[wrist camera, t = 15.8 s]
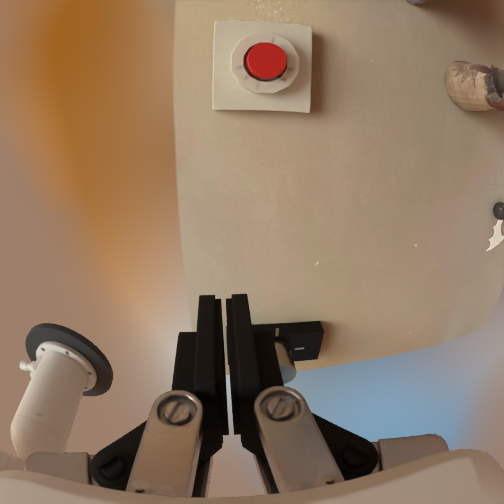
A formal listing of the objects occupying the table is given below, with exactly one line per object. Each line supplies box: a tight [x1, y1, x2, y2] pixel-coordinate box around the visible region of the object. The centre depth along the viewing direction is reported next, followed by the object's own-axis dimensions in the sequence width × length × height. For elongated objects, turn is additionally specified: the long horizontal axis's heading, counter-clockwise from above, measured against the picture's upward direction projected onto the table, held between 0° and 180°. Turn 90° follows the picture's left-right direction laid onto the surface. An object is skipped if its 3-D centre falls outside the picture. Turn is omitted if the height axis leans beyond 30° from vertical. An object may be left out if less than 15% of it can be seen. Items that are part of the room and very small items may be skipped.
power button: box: [246, 42, 287, 79], centre depth 24 cm, size 4×4×2 cm
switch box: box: [213, 21, 312, 113], centre depth 26 cm, size 10×10×4 cm
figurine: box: [446, 61, 504, 111], centre depth 23 cm, size 7×7×12 cm
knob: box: [274, 340, 296, 384], centre depth 40 cm, size 4×4×5 cm
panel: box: [226, 321, 324, 365], centre depth 44 cm, size 14×9×3 cm, turn 89°
